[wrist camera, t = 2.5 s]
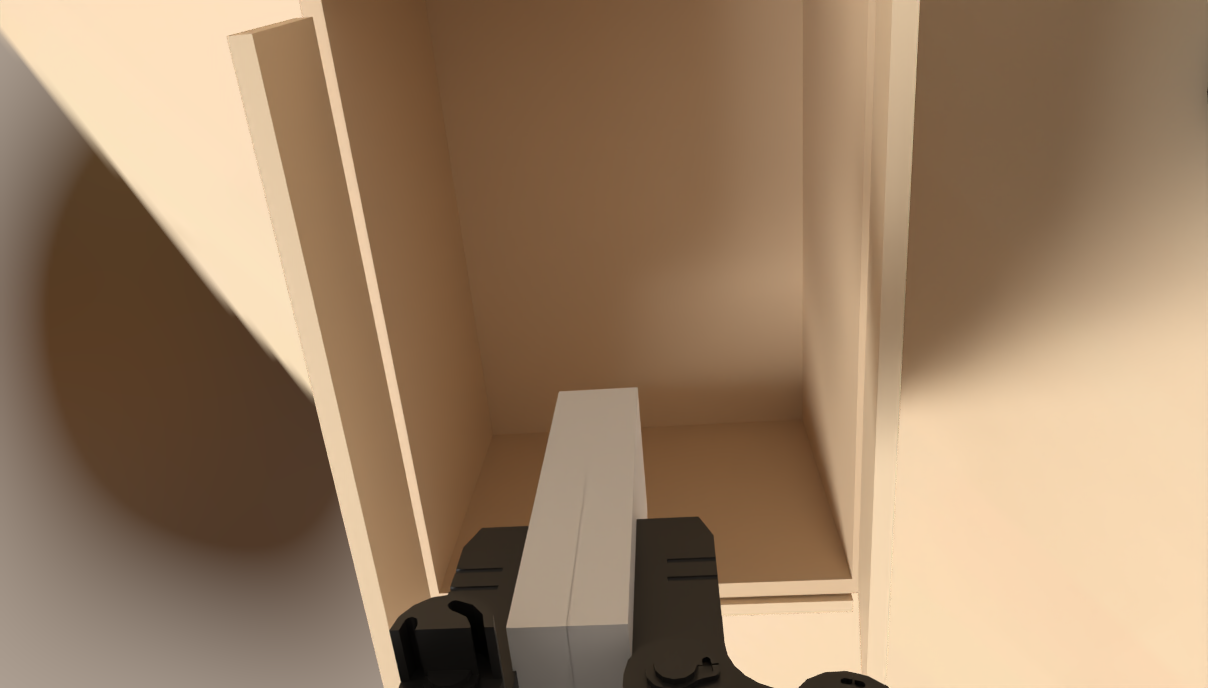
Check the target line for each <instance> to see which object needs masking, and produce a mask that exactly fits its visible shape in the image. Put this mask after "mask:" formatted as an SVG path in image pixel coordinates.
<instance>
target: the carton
mask: <svg viewBox="0 0 1208 688" xmlns="http://www.w3.org/2000/svg"><path fill="white" fill-rule="evenodd" d="M299 3H300V8H301V13H302V17H303V18H304V17H313V21H314V25H315V30H316V35H317V40H318V45H319V50H320V55H321V60H322V65H323V70H324V75H325V79H326V84H327V89H328V94H329V99H330V104H331V109H332V114H333V119H334V124H335V129H336V134H337V138H338V143H339V148H340V153H341V158H342V163H343V168H344V173H345V178H346V183H347V188H348V192H349V197H350V202H351V207H352V212H353V217H354V222H355V227H356V232H357V237H358V242H359V247H360V251H361V256H362V261H363V266H364V271H365V276H366V281H367V286H368V291H369V296H370V301H371V305H372V310H373V315H374V320H375V325H376V330H377V335H378V340H379V345H380V350H381V355H382V359H383V364H384V369H385V374H386V379H387V384H388V389H389V394H390V399H391V404H392V409H393V414H394V418H395V423H396V428H397V433H398V438H399V443H400V448H401V453H402V458H403V463H404V468H405V472H406V477H407V482H408V487H409V492H410V497H411V502H412V507H413V512H414V517H415V522H416V527H417V531H418V536H419V541H420V546H421V551H422V556H423V561H424V566H425V571H426V576H427V581H428V585H429V590H430V595H431V598H432V597H437V596H443V595H448V592H450V586H451V583H452V580H453V577H454V574H456V568H457V565H458V562H459V559H460V556H461V553H462V550H463V547H464V546H465V545H466V544H467V543H468V542H469V541H470V540H471V539H472V538H473V537H474V536H475V535H476V534H477V533H478V531H479V530H480V529H481V528H491V527H514V526H529V523H530V519H531V514H532V510H533V505H534V501H535V496H536V492H537V487H538V483H539V478H540V474H541V469H542V465H543V460H544V456H545V452H546V447H547V443H548V438H549V434H550V429H551V425H552V420H553V416H554V411H555V407H556V402H557V398H558V393H559V391H577V390H595V389H614V388H632V387H638V398H639V411H640V423H641V436H642V449H643V461H644V474H645V486H646V499H647V519H650V518H674V517H697V516H699V518H700V519H701V520H702V521H703V523H704V524H705V525H706V526H707V527H708V529H709V530H710V531H711V532H712V534H713V535H714V544H715V554H716V564H717V574H718V584H719V594H720V603H721V613H722V616H737V615H768V614H799V613H830V612H853V599H852V595H851V593H858V565H859V533H860V502H861V470H862V438H863V406H864V374H865V342H866V310H867V279H868V247H869V215H870V183H871V151H872V119H873V87H874V56H875V24H876V0H299Z"/></svg>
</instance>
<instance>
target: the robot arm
mask: <svg viewBox="0 0 1208 688" xmlns="http://www.w3.org/2000/svg"><path fill="white" fill-rule="evenodd" d="M389 633H390V637H391V641H392V646H393V650H394V655H395V659H396V663H397V668H398V672H399V677H400V681H401V682H400V685H399V688H772V687H769V686H766V685H763V684H760V683H758V682H756V681H754V680H752V679H751V678H749V677H747V676H745V675H744V674H743V673H742V672H741V671H740V670H739V669H737V668H736V667H735V666H734V664H733V663H732V661H731V660H730V658H729V657H728V655H727V651H726V647H725V643H724V633H723V623H722V613H721V603H720V594H719V584H718V574H717V564H716V554H715V544H714V535H713V534H712V532H711V531H710V530H709V529H708V527H707V526H706V525H705V524H704V523H703V521H702V520H701V519H700V518H699V516H697V517H674V518H650V519H647V499H646V486H645V474H644V461H643V449H642V436H641V423H640V411H639V398H638V387H632V388H614V389H595V390H577V391H559V393H558V398H557V402H556V407H555V411H554V416H553V420H552V425H551V429H550V434H549V438H548V443H547V447H546V452H545V456H544V460H543V465H542V469H541V474H540V478H539V483H538V487H537V492H536V496H535V501H534V505H533V510H532V514H531V519H530V523H529V526H514V527H491V528H481V529H480V530H479V531H478V533H477V534H476V535H475V536H474V537H473V538H472V539H471V540H470V541H469V542H468V543H467V544H466V545H465V546H464V547H463V550H462V553H461V556H460V559H459V562H458V565H457V568H456V574H454V577H453V580H452V583H451V586H450V592H448V595H443V596H437V597H432V598H429V599H427V600H425V601H422V602H420V603H418V604H415V605H413V606H412V607H410V608H409V609H408V610H407V611H405V612H404V613H403V614H401V615H400V616H399V617H398V618H397V619H396V621H395V622H394V624H393V625H392V627H391V628H390V630H389ZM799 688H889V687H888V686H886V685H884V684H882V683H880V682H879V681H877V680H875V679H873V678H871V677H869V676H866V675H862V674H857V673H853V672H848V671H840V672H825V673H822V674H819V675H817V676H814V677H812V678H809V679H807V680H806V681H805V682H804V683H803V684H802V685H801V686H800V687H799Z"/></svg>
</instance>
